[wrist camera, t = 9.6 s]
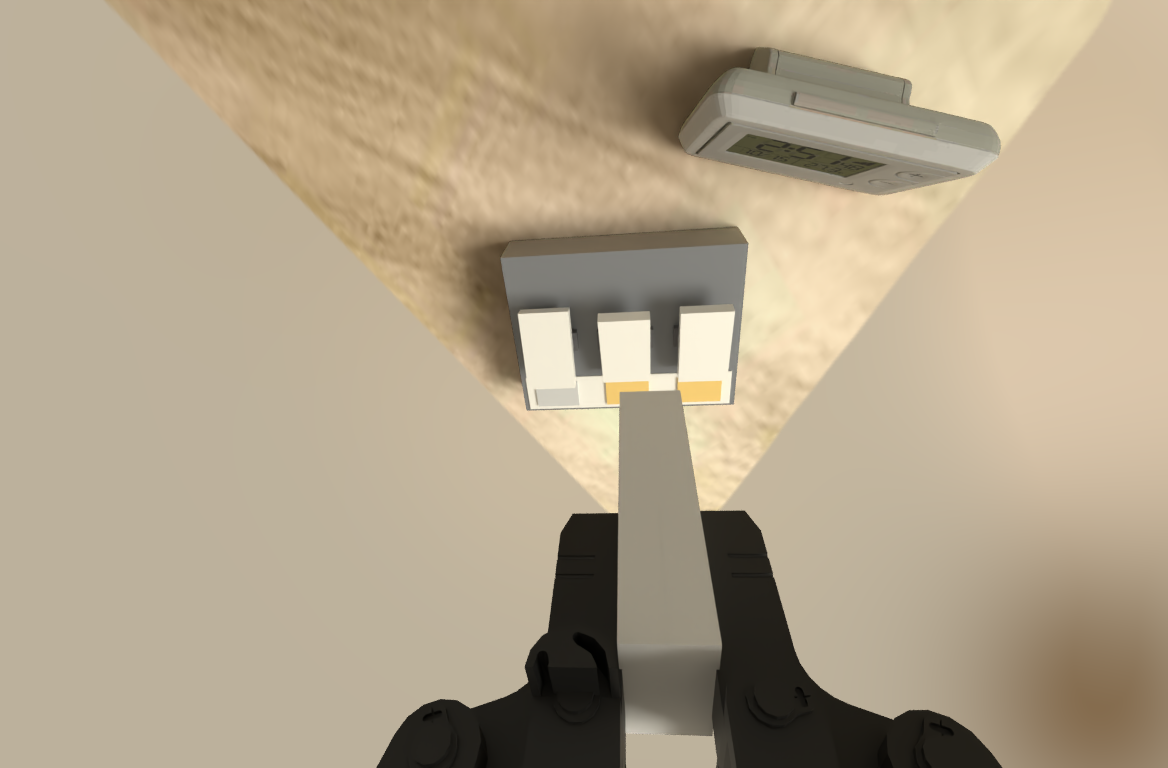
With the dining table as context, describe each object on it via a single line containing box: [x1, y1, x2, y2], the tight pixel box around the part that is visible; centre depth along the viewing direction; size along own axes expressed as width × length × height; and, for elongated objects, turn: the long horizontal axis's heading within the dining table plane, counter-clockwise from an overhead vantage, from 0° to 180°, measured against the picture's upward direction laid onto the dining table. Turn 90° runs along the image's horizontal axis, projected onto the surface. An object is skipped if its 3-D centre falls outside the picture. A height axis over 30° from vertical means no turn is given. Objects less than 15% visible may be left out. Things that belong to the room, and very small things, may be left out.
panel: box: [500, 227, 748, 410], centre depth 43 cm, size 14×18×5 cm
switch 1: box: [518, 307, 576, 390], centre depth 41 cm, size 6×4×2 cm, turn 4°
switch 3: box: [677, 304, 735, 382], centre depth 40 cm, size 6×4×2 cm, turn 5°
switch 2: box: [598, 311, 650, 383], centre depth 40 cm, size 6×4×2 cm, turn 5°
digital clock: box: [678, 47, 1001, 195], centre depth 32 cm, size 16×9×11 cm, turn 68°
